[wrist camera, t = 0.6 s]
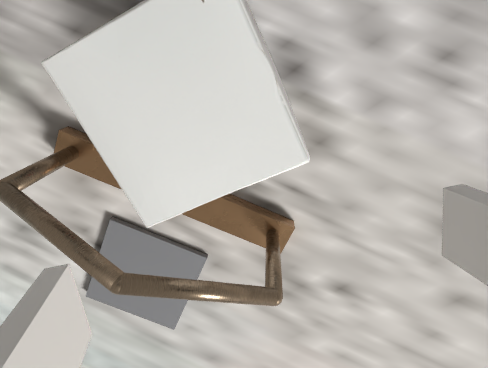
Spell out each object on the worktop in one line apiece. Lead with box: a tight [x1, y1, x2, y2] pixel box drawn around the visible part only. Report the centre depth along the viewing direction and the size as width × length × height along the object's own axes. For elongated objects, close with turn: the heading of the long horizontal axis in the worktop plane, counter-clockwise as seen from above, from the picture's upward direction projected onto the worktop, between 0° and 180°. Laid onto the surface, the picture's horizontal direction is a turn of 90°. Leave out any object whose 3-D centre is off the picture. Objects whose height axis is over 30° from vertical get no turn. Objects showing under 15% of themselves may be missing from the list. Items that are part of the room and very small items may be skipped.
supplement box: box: [41, 0, 310, 228], centre depth 22 cm, size 9×9×15 cm
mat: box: [86, 217, 208, 329], centre depth 36 cm, size 10×10×1 cm
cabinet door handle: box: [0, 126, 295, 306], centre depth 26 cm, size 3×22×15 cm, turn 67°
